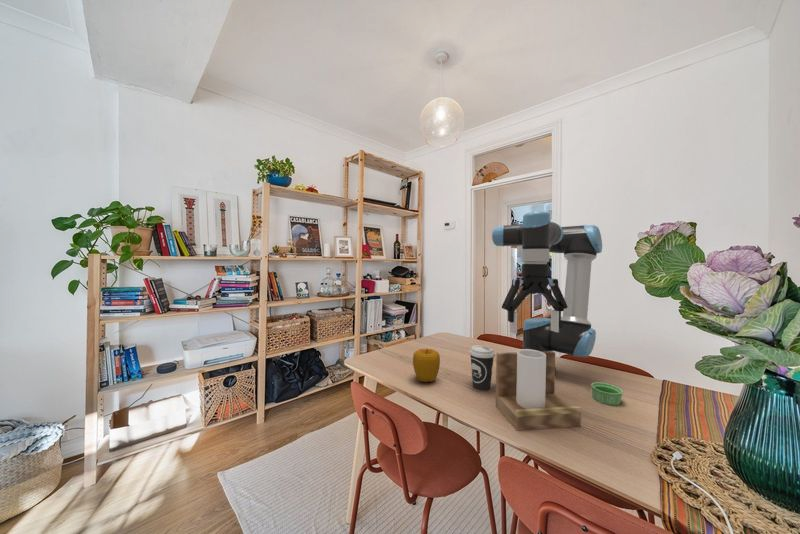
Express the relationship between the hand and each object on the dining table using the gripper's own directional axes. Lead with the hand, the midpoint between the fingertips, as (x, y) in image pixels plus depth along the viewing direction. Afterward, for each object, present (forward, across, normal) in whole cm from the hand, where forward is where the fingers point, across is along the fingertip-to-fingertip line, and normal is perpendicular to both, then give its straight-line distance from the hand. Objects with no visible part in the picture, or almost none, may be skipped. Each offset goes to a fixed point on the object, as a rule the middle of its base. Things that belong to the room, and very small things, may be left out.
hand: (534, 332), depth 88 cm
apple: (+27, +27, -30) cm, 49 cm away
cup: (+23, 0, -1) cm, 23 cm away
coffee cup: (+27, +7, -22) cm, 36 cm away
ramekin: (+27, -32, -8) cm, 43 cm away
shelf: (+27, -1, -1) cm, 27 cm away
